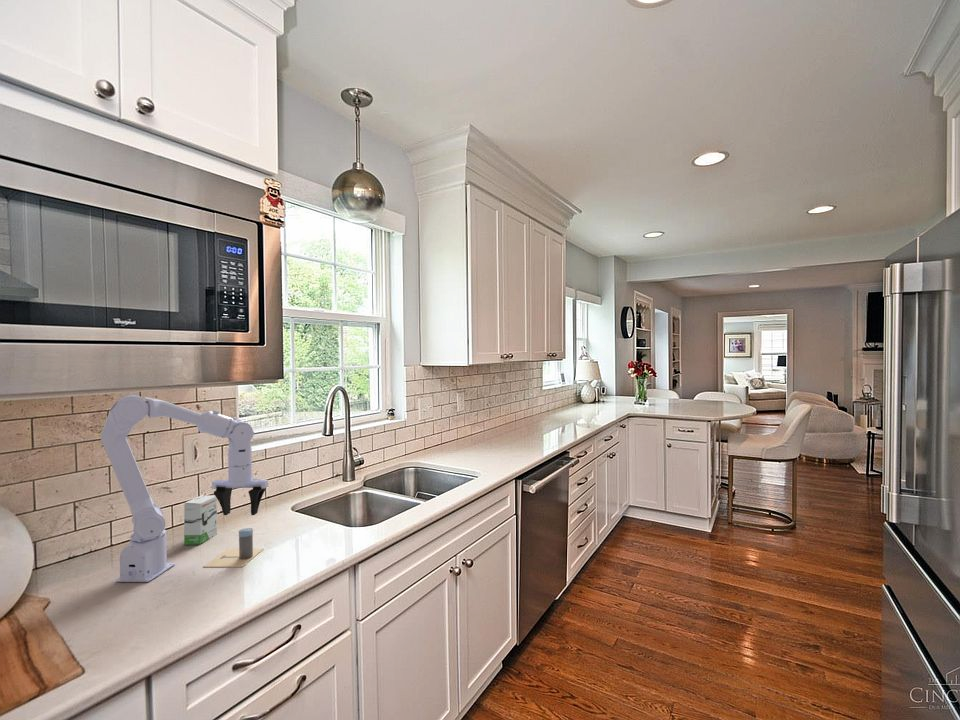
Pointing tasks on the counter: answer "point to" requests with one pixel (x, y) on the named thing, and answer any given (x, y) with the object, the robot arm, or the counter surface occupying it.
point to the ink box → (200, 519)
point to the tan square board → (231, 559)
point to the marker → (246, 543)
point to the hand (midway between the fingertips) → (240, 514)
